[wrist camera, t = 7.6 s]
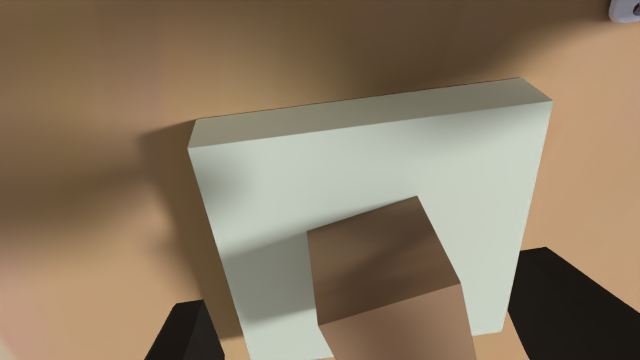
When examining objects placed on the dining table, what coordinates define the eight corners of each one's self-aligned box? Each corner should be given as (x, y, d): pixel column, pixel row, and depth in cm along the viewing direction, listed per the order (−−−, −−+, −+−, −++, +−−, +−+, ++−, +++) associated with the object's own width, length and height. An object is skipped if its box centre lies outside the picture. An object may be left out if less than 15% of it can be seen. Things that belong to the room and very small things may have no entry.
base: (521, 77, 19) (553, 100, 17) (483, 297, 27) (501, 331, 24) (196, 119, 18) (187, 148, 16) (254, 330, 26) (253, 368, 24)
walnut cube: (417, 195, 18) (461, 283, 14) (436, 272, 21) (477, 364, 17) (306, 231, 19) (317, 326, 15) (339, 302, 22) (356, 399, 18)
